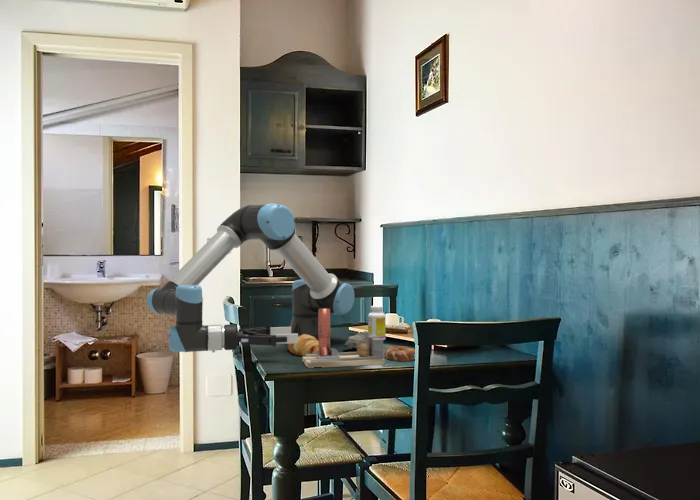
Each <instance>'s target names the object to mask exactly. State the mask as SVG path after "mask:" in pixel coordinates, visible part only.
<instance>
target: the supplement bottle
mask: <svg viewBox="0 0 700 500" xmlns="http://www.w3.org/2000/svg"><path fill="white" fill-rule="evenodd" d="M383 310H384V306H383V305H371V306H370V312H369V313H368V315H367V327H368V328H367V332H369V333H371V334H372V335H376V336H378V337H380V338H382V339H383V341H386V336H387V335H386V332H387V331H386V328H387V326H386V314H385V313H384V311H383Z"/></svg>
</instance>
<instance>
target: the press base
mask: <svg viewBox="0 0 700 500" xmlns="http://www.w3.org/2000/svg"><path fill="white" fill-rule="evenodd" d="M338 355H339V356H340V358H333V359H318V358H317V357H316V354H306V356H302V363H303V362H304V363H303V364H304V365H305V366H306V368H307V367H308V368H307V369H315V368H314V367H322V368H337V367H340V368H341V367H356V366H358V367H359V366H373V365H377V366H378V365H385V363H386V358H385V357H384V340H383V339H382V338H380V337H378V336H376V335H370V336H367V344H366V343H361V344H359V345H358V347H357V349H356V351H347V352H338Z"/></svg>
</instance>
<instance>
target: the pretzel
mask: <svg viewBox="0 0 700 500" xmlns="http://www.w3.org/2000/svg"><path fill="white" fill-rule="evenodd" d="M415 349H416V348H415V347H409V346H406V345H403V346H402V345H391V346H390V347H388V348H387V349H386V350H385V351H384V353H383V356H384V359H385V360H386V359H387V360H389V361H396V362H412V361H415V360H414V354H415Z"/></svg>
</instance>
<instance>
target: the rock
mask: <svg viewBox="0 0 700 500" xmlns="http://www.w3.org/2000/svg"><path fill="white" fill-rule="evenodd" d="M370 335H372V334H371V333H369V332H368V330H365V331H360V332H357V333H356V334H355V335H352V336H350V337H348V338H347V339H346V342H344V344H343V347H342V349H344V348H345V347H347V348H351V350H357V347H358V345H359V344H361V343H366V344H367V336H370Z"/></svg>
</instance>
